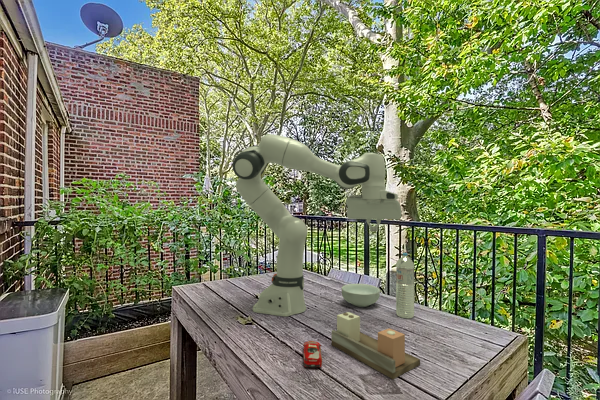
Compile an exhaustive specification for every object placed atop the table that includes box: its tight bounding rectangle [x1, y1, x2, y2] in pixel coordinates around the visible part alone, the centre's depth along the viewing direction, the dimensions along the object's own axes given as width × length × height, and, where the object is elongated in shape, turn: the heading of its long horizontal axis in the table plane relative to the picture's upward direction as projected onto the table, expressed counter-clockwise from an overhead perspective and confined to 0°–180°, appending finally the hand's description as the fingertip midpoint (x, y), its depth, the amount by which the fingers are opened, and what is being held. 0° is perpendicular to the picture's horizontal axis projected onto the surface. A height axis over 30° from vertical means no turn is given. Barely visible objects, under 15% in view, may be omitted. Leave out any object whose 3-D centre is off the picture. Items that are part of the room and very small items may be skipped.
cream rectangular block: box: [336, 311, 361, 341], centre depth 94 cm, size 5×5×8 cm
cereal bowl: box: [341, 283, 381, 308], centre depth 135 cm, size 17×17×7 cm
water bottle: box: [395, 252, 415, 320], centre depth 120 cm, size 7×7×25 cm
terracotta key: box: [377, 328, 406, 367], centre depth 81 cm, size 5×5×8 cm
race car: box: [302, 340, 323, 368], centre depth 87 cm, size 13×5×4 cm, turn 178°
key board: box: [330, 329, 421, 380], centre depth 89 cm, size 12×23×4 cm, turn 36°
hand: (373, 231), depth 115 cm, fingers closed
